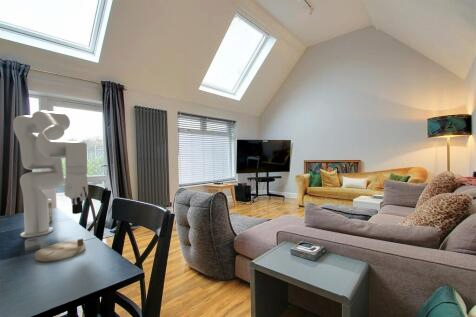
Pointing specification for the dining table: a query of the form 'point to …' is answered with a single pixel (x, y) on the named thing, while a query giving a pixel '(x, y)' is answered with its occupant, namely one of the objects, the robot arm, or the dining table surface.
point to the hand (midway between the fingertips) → (77, 213)
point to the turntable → (60, 250)
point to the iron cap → (32, 244)
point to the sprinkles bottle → (50, 209)
